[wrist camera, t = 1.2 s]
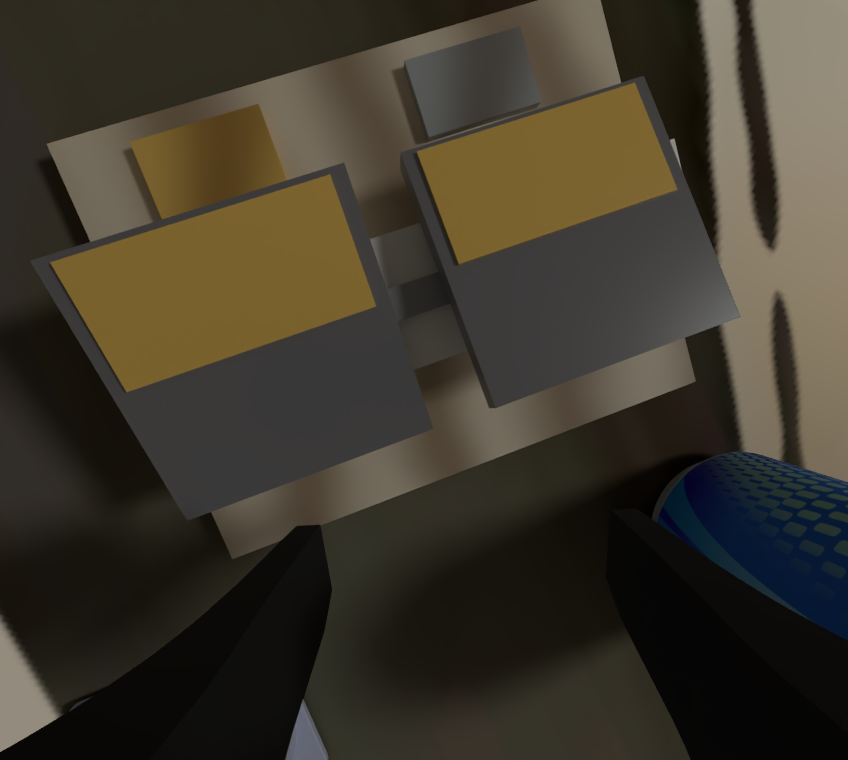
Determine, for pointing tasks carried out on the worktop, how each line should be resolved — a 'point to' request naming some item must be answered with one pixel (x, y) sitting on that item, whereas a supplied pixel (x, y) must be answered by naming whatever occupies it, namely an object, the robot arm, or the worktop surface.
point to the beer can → (767, 529)
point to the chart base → (373, 218)
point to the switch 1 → (245, 338)
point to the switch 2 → (566, 240)
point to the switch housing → (420, 294)
